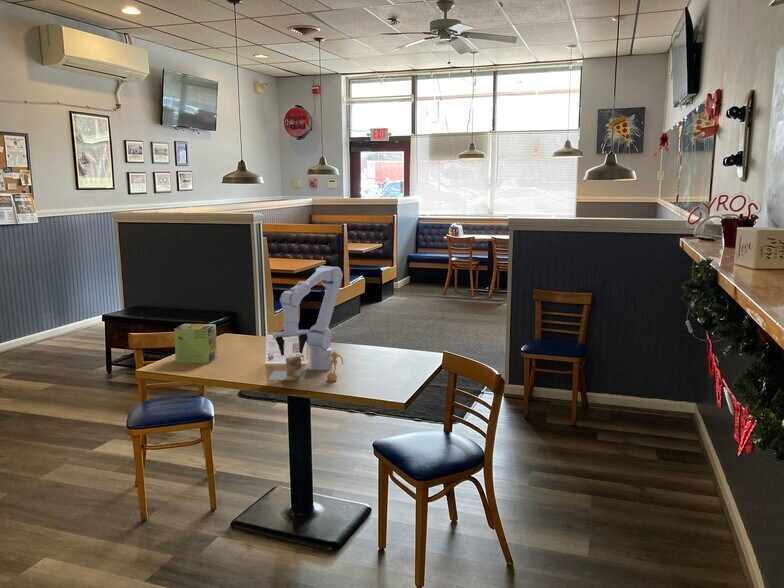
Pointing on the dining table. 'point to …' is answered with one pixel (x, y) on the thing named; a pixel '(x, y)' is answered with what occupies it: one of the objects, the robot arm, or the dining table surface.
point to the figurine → (332, 375)
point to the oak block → (293, 374)
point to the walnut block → (293, 363)
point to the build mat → (284, 375)
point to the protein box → (195, 343)
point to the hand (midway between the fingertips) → (291, 353)
